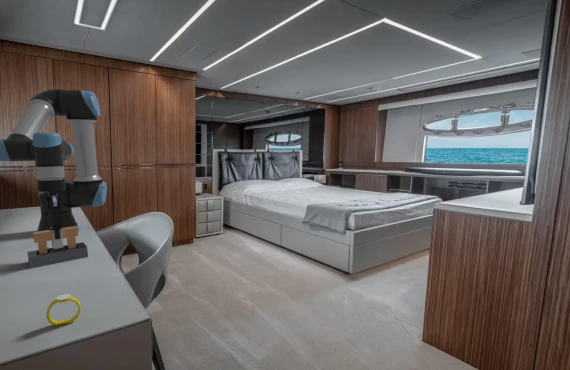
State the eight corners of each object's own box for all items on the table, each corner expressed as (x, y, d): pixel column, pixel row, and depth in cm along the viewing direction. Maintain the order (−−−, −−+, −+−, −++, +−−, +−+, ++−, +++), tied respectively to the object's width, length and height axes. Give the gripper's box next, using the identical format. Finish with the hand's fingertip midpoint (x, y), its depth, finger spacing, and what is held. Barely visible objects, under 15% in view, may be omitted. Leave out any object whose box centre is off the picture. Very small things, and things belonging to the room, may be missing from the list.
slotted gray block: (29, 268, 98) (28, 258, 97) (28, 261, 104) (27, 251, 103) (88, 256, 108) (87, 247, 108) (84, 251, 114) (83, 242, 114)
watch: (47, 330, 64) (44, 303, 63) (48, 324, 66) (45, 297, 66) (81, 321, 67) (79, 295, 66) (81, 315, 69) (79, 290, 69)
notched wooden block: (36, 263, 101) (33, 234, 100) (36, 261, 103) (33, 232, 102) (80, 255, 109) (77, 227, 107) (78, 252, 111) (76, 226, 110)
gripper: (35, 178, 106) (42, 243, 109) (38, 181, 94) (45, 255, 97) (61, 176, 111) (67, 239, 114) (68, 180, 99) (74, 249, 102)
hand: (57, 246), depth 105 cm, fingers open, 3 cm apart
